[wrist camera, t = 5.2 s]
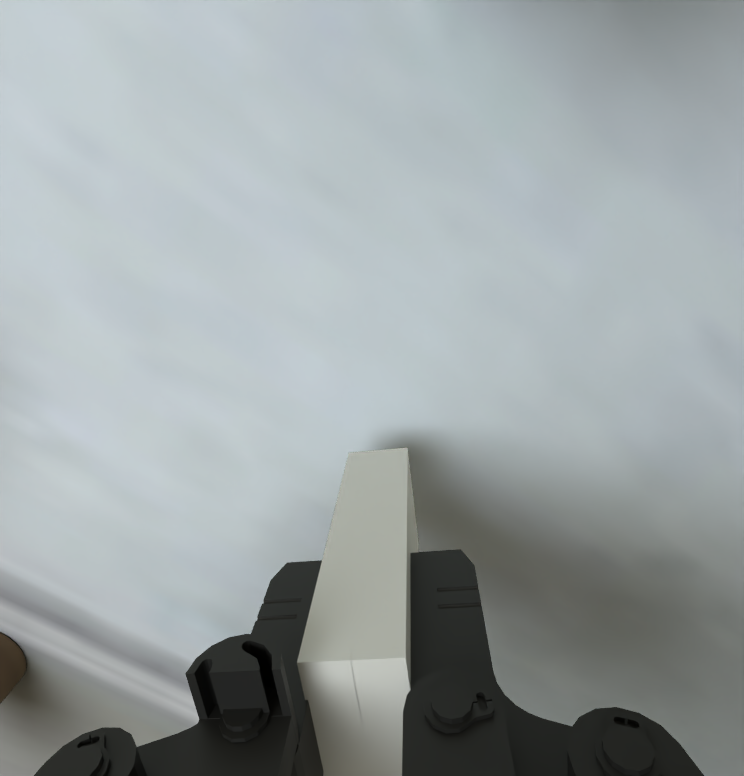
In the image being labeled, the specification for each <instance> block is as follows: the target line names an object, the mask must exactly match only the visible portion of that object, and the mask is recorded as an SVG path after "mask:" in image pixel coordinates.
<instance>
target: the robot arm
mask: <svg viewBox="0 0 744 776" xmlns="http://www.w3.org/2000/svg"><path fill="white" fill-rule="evenodd" d="M186 677H187V680H188V683H189V687H190V690H191V693H192V696H193V700H194V703H195V706H196V709H197V713H198V716H199V722H198V724H196V725H195V726H193V727H191V728H189V729H187V730H184V731H182V732H180V733H178V734H175V735H172V736H169V737H166V738H163V739H160V740H157V741H154V742H151V743H148V744H145V745H142V746H139V747H136V744H135V742H134V740H133V737H132V735H131V734H130V733H128V732H126V731H124V730H123V729H121V728H100V729H97V730H94V731H91V732H88V733H85V734H82V735H81V736H79V737H78V738H76V739H74V740H73V741H71V742H69V743H68V744H66V745H64V746H63V747H62V748H61V749H60V750H59V751H57V752H56V753H55V754H54V755H53V756H52V757H51V758H50V759H49V760H48V761H47V762H46V763H45V764H44V765H43V766H42V767H41V768H40V769H39V770H38V772H37V773H36V774H35V775H34V776H704V775H703V774H702V772H701V771H700V770H699V769H698V767H697V766H696V765H695V763H694V762H693V761H692V759H691V758H690V757H689V756H688V754H687V753H686V752H685V750H684V749H683V748H682V746H681V745H680V744H679V743H678V742H677V741H676V740H675V739H674V738H673V737H672V736H671V735H670V734H669V733H668V732H667V731H666V730H665V729H664V728H663V727H662V726H661V725H659V724H657V723H656V722H654V721H652V720H650V719H649V718H647V717H645V716H643V715H641V714H640V713H637V712H633V711H629V710H625V709H621V708H617V707H614V708H600V709H594V710H592V711H590V712H588V713H586V714H584V715H582V716H580V717H579V718H578V720H577V721H576V722H575V724H574V725H573V727H572V726H568V725H564V724H561V723H557V722H553V721H549V720H546V719H543V718H540V717H537V716H535V715H532V714H529V713H528V712H526V711H524V710H523V709H521V708H519V707H518V706H516V705H515V704H514V703H513V702H512V701H511V700H510V699H509V698H508V697H506V696H505V695H504V693H503V692H502V690H501V689H500V687H499V685H498V684H497V682H496V679H495V676H494V673H493V668H492V662H491V657H490V651H489V645H488V640H487V634H486V629H485V623H484V617H483V612H482V606H481V600H480V595H479V589H478V584H477V578H476V572H475V567H474V565H473V564H472V562H471V561H470V560H469V559H468V558H467V556H466V555H465V554H464V553H463V552H462V550H446V551H431V552H419V541H418V532H417V523H416V515H415V506H414V498H413V489H412V481H411V472H410V463H409V455H408V448H396V449H385V450H373V451H362V452H350V453H348V457H347V461H346V466H345V470H344V474H343V478H342V482H341V486H340V490H339V494H338V498H337V502H336V506H335V510H334V514H333V518H332V522H331V526H330V530H329V534H328V539H327V543H326V547H325V551H324V555H323V559H322V561H306V562H291V563H286V564H285V566H284V567H283V568H282V569H281V570H280V571H279V572H278V573H277V574H276V575H275V576H274V577H273V579H272V580H271V581H270V584H269V587H268V589H267V592H266V595H265V598H264V604H262V606H261V608H260V611H259V614H258V620H257V621H256V622H255V625H254V627H253V630H252V633H251V634H244V635H239V636H234V637H229V638H227V639H225V640H223V641H221V642H219V643H217V644H215V645H212V646H211V647H210V648H208V649H207V650H206V651H205V652H203V653H202V654H201V655H200V656H199V657H197V658H196V659H195V661H194V662H193V664H192V665H191V667H190V668H189V670H188V671H187V672H186Z"/></svg>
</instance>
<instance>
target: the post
mask: <svg viewBox="0 0 744 776" xmlns="http://www.w3.org/2000/svg"><path fill="white" fill-rule="evenodd" d="M25 671H26V660H25V657H24V654H23V652H22V651H21V649H20V648H19V647H18V646H17V644H16V643H15V642H13V641H12V640H11V639H10V638H8V637H7V636H5V635H3V634H1V633H0V704H1V702H2V701H3V700H4V699H5V698H6V696H7V695H8V694H9V693H10V691H11V690H12V689H13V688H14V687H15V685H16V684H17V683H18V682H19V680H20V679H21V678H22V677H23V675H24V674H25Z"/></svg>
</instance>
